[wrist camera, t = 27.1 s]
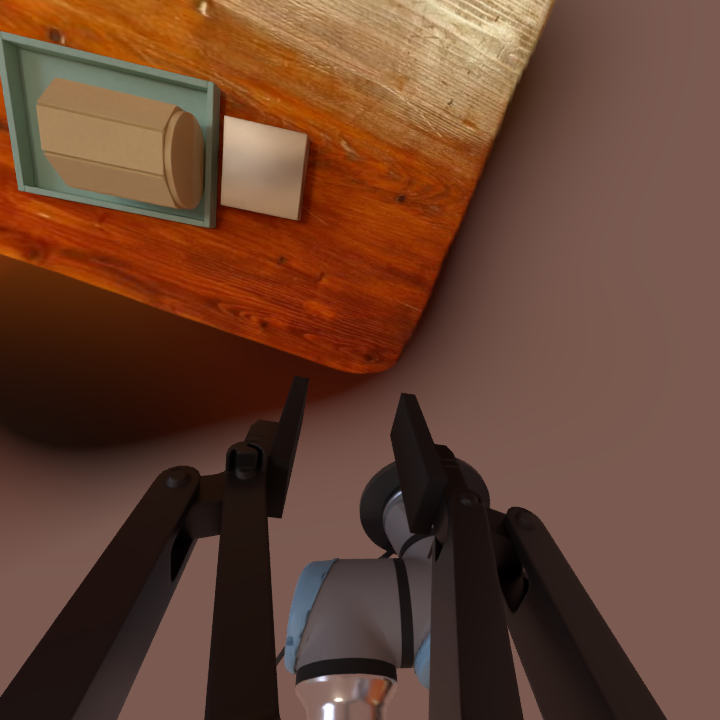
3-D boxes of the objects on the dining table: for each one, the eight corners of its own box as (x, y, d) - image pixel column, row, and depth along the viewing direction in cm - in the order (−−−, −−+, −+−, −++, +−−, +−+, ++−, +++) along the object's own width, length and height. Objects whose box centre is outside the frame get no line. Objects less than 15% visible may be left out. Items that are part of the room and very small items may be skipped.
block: (300, 220, 40) (297, 220, 37) (229, 205, 39) (220, 204, 36) (310, 140, 37) (307, 134, 34) (233, 122, 36) (224, 114, 33)
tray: (220, 89, 35) (213, 82, 33) (215, 227, 40) (209, 228, 38) (12, 39, 33) (-7, 29, 31) (34, 191, 38) (18, 190, 36)
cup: (169, 96, 28) (30, 64, 26) (170, 209, 31) (45, 184, 30) (208, 123, 35) (102, 99, 34) (206, 211, 38) (108, 191, 37)
